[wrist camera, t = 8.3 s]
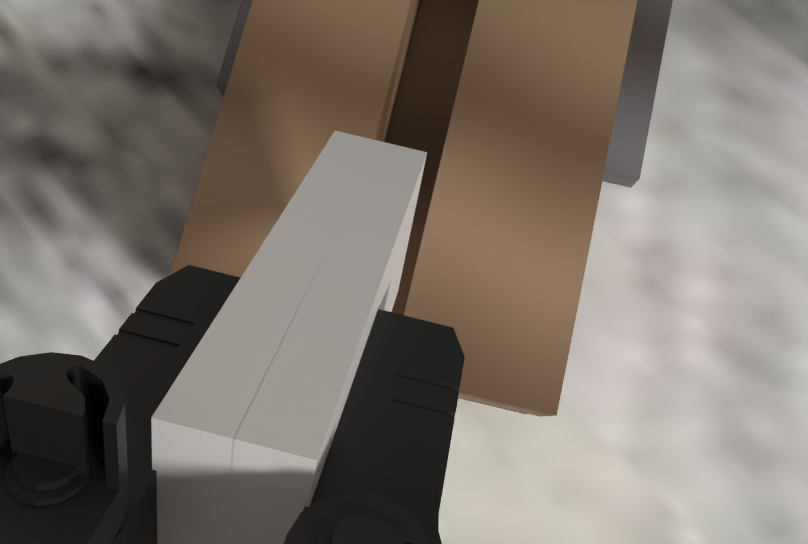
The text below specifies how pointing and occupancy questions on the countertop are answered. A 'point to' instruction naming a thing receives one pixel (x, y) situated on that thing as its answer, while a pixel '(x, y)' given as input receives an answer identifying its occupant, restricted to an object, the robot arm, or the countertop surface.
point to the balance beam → (445, 153)
